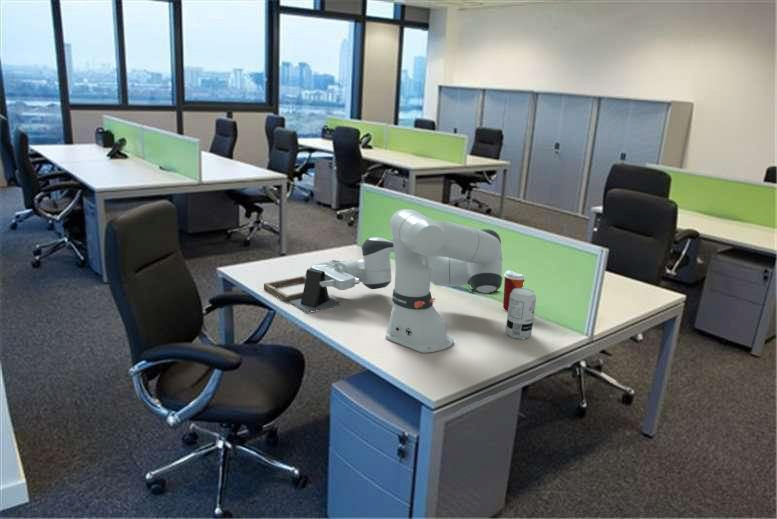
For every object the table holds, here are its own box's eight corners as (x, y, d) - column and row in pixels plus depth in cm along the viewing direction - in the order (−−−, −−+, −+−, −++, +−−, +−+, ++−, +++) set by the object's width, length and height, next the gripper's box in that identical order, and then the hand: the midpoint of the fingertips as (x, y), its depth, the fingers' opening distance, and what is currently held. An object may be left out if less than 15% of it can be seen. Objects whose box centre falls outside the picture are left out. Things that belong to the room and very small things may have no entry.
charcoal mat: (340, 305, 210) (340, 303, 210) (307, 313, 201) (307, 311, 201) (322, 295, 218) (322, 293, 218) (289, 302, 210) (289, 300, 210)
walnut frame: (327, 293, 221) (327, 288, 220) (286, 302, 210) (286, 296, 209) (303, 280, 233) (303, 275, 232) (263, 288, 222) (263, 283, 221)
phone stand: (315, 296, 215) (316, 265, 211) (329, 300, 212) (330, 268, 209) (300, 304, 207) (300, 271, 204) (314, 307, 204) (315, 275, 201)
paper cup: (515, 315, 209) (520, 277, 205) (496, 309, 214) (500, 272, 210) (525, 309, 215) (530, 272, 211) (506, 303, 220) (510, 268, 216)
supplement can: (503, 329, 197) (508, 286, 193) (528, 330, 197) (533, 288, 192) (507, 339, 189) (512, 295, 185) (533, 340, 189) (539, 297, 185)
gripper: (362, 290, 209) (329, 297, 200) (329, 274, 223) (298, 280, 215) (363, 273, 207) (330, 280, 198) (330, 258, 222) (298, 264, 213)
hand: (313, 280), depth 207 cm, fingers open, 8 cm apart
